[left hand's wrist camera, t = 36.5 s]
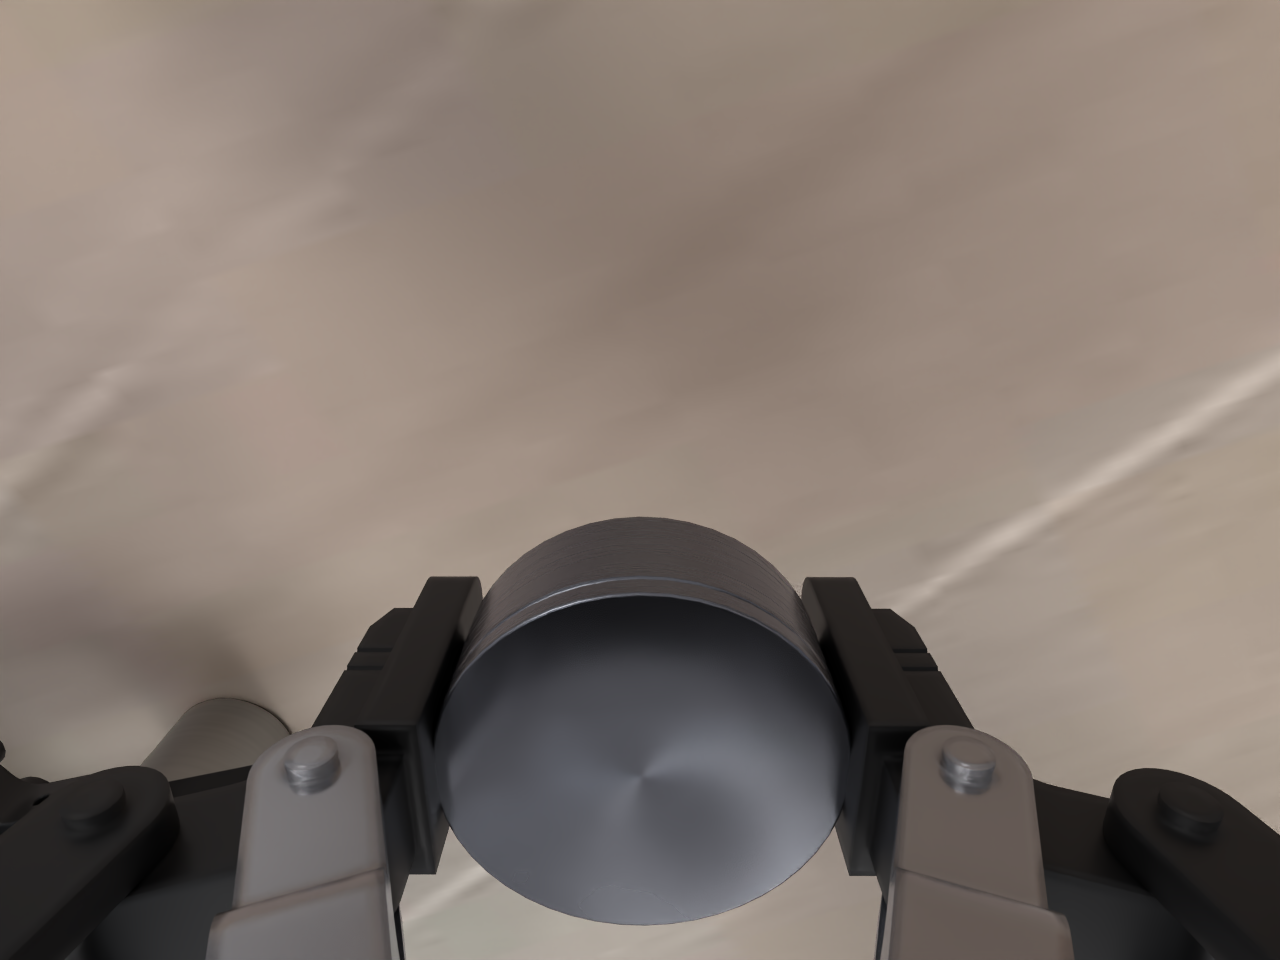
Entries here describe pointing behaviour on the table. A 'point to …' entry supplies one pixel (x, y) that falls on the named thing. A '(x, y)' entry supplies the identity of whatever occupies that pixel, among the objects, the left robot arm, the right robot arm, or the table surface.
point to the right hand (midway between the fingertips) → (305, 874)
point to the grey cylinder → (215, 739)
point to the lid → (642, 726)
